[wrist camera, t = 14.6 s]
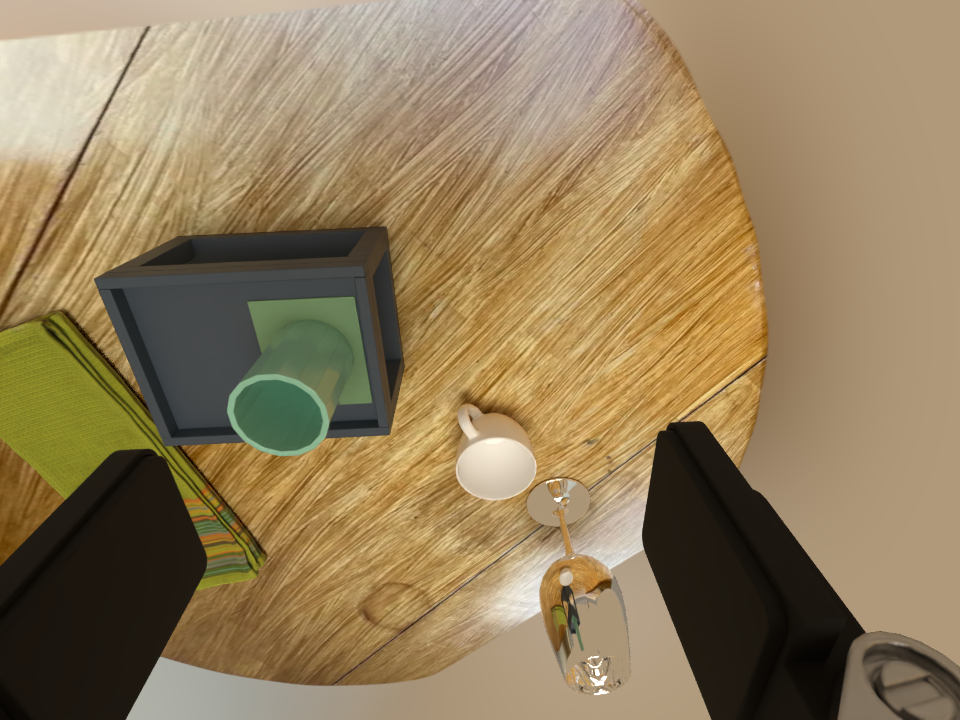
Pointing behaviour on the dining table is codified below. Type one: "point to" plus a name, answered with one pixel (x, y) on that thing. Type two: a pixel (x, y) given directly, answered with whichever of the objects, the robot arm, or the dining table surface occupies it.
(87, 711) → the robot arm
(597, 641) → the wineglass
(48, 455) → the dish towel
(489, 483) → the cup
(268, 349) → the tumbler
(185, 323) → the tray
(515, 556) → the dining table surface
